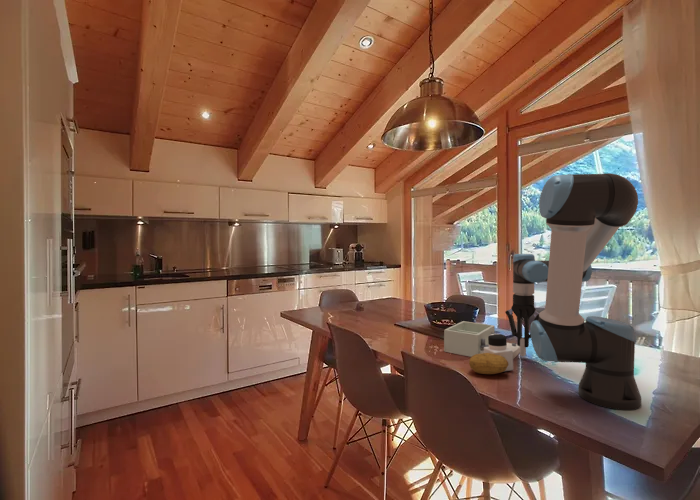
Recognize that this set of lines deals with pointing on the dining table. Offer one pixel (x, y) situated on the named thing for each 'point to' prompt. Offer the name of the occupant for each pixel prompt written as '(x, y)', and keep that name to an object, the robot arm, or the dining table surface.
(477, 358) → the potato
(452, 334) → the open box
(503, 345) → the medicine bottle
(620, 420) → the dining table surface
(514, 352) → the white flat block
